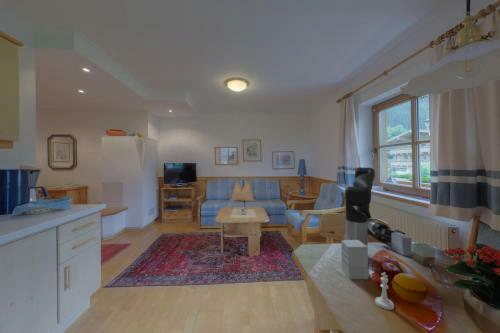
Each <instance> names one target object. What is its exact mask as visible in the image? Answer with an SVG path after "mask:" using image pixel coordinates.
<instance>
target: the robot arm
mask: <svg viewBox="0 0 500 333" xmlns="http://www.w3.org/2000/svg"><path fill="white" fill-rule="evenodd" d="M375 177H376V173H375V169H374V168H373V167H359V166H358V167H356V168H355V170H354V181H353V185H352V186H346V187H345V190H344V203H345V204H344V205H345V233H344V234H343V240H359V241H360V242H362V243H363V244H364V245H366V246H367V247H368V248H369V246H368V244H369V243H368V242H369V241H368V240H369V238H368V237H369V236H368V233H369V232H371V233H372V235H373V236H375V237H376V238H379V239H380V238H381V239H384V240H386V241H391V238H392V237H391V234H392V233H402V234H404V235H406V233H405V232H404V231H400V230H399V229H395V230H393V229H390V227H389V226H388V225H386V224H384V223H383V222H380V221H377V220H374V219H369V218H372V216H371V212H370V204H371V203H372V202H371V201H372V189H373V186H374V180H375V179H376V178H375ZM368 231H369V232H368Z"/></svg>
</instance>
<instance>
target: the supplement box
mask: <svg viewBox="0 0 500 333" xmlns="http://www.w3.org/2000/svg"><path fill="white" fill-rule="evenodd" d="M340 243H341V270H342V271H343V273H344V274H345V276H346V277H347V278H348V279H349V280H369V246H368V247H367V246H366V245H364V244H363V243H362V242H360V241H359V240H344V239H342V240H341V241H340Z"/></svg>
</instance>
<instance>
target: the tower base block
mask: <svg viewBox="0 0 500 333" xmlns="http://www.w3.org/2000/svg"><path fill="white" fill-rule="evenodd" d="M413 262H416V263H417V264H418V265H420V266H422V267H431V266H430V264H431V265H433V266H432V267H435V266H436V256H435V257H422V256H420V255H418V254H416V253H415V252H414V251H413Z"/></svg>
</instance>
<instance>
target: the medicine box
mask: <svg viewBox="0 0 500 333" xmlns="http://www.w3.org/2000/svg"><path fill="white" fill-rule="evenodd" d="M390 238H391V250H393V251H395V252H396V253H398V254H400V255H401V256H405V257H410V256H413V255H412V254H413V252H412V251H413V250H412V248H413V247H412V237H410V236H408V235H406V234H405V235H404V234H402V233H392V234H391V237H390Z"/></svg>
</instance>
